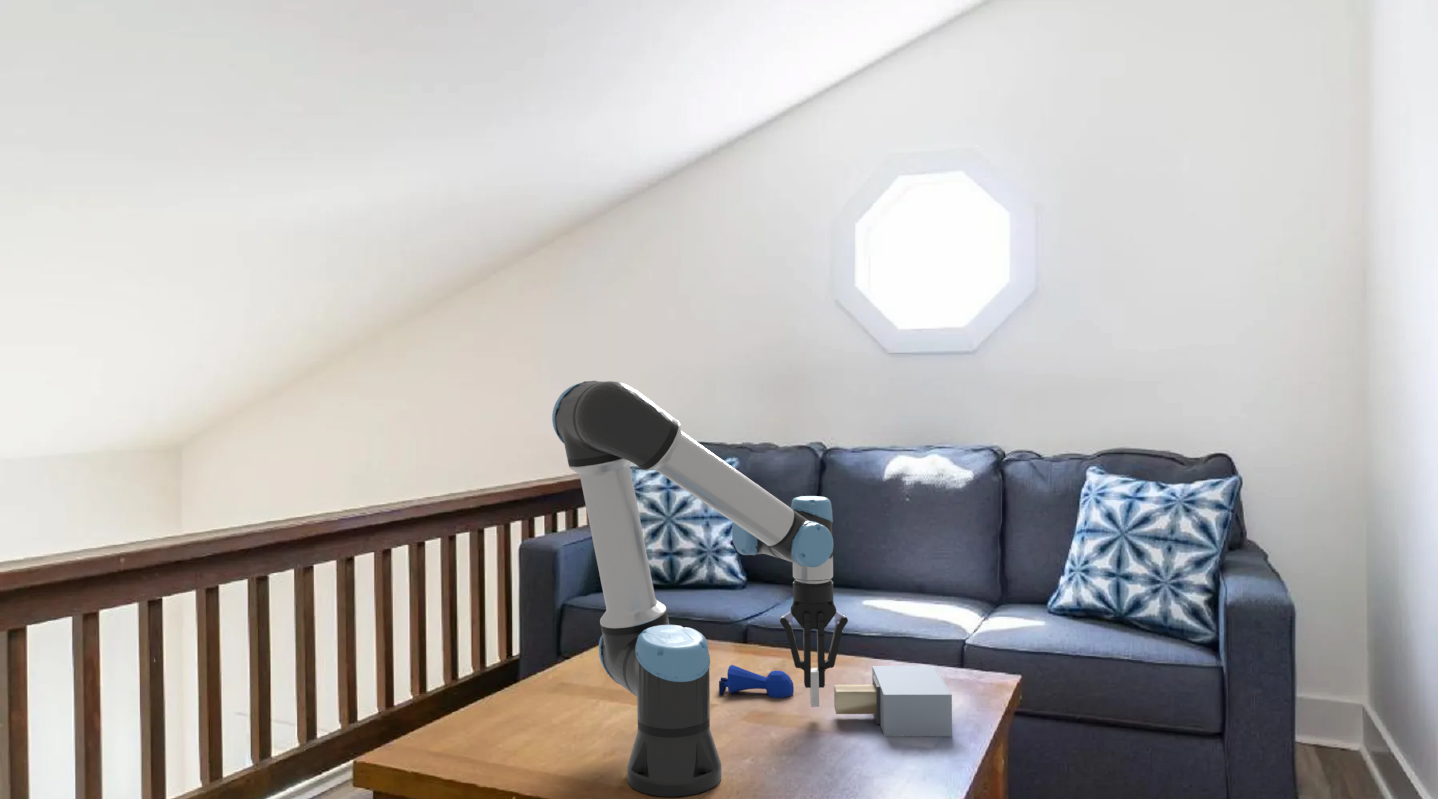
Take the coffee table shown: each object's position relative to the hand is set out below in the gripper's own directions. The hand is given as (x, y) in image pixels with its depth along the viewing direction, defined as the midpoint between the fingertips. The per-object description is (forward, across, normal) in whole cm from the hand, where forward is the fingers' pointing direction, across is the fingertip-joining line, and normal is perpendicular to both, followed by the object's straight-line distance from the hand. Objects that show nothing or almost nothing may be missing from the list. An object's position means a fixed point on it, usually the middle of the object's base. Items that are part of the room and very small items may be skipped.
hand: (814, 704), depth 190 cm
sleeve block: (+3, -18, 0) cm, 18 cm away
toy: (+3, +11, -16) cm, 20 cm away
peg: (+1, -12, 0) cm, 12 cm away
